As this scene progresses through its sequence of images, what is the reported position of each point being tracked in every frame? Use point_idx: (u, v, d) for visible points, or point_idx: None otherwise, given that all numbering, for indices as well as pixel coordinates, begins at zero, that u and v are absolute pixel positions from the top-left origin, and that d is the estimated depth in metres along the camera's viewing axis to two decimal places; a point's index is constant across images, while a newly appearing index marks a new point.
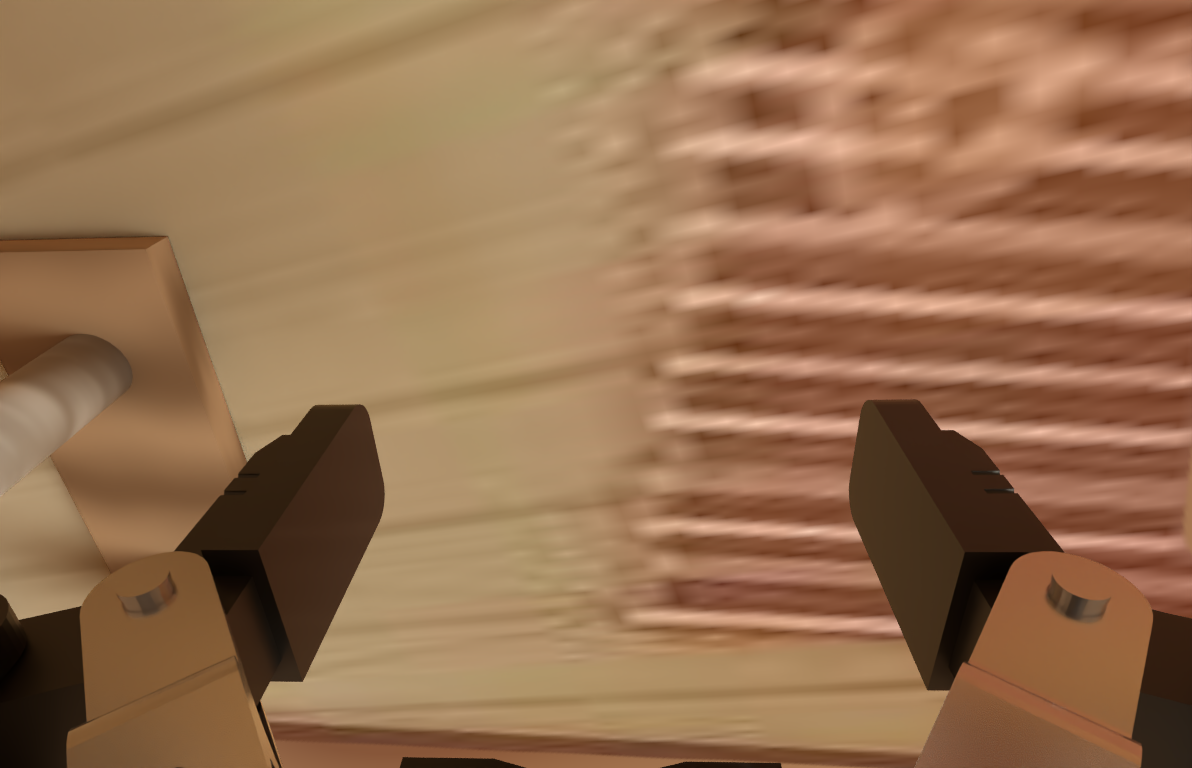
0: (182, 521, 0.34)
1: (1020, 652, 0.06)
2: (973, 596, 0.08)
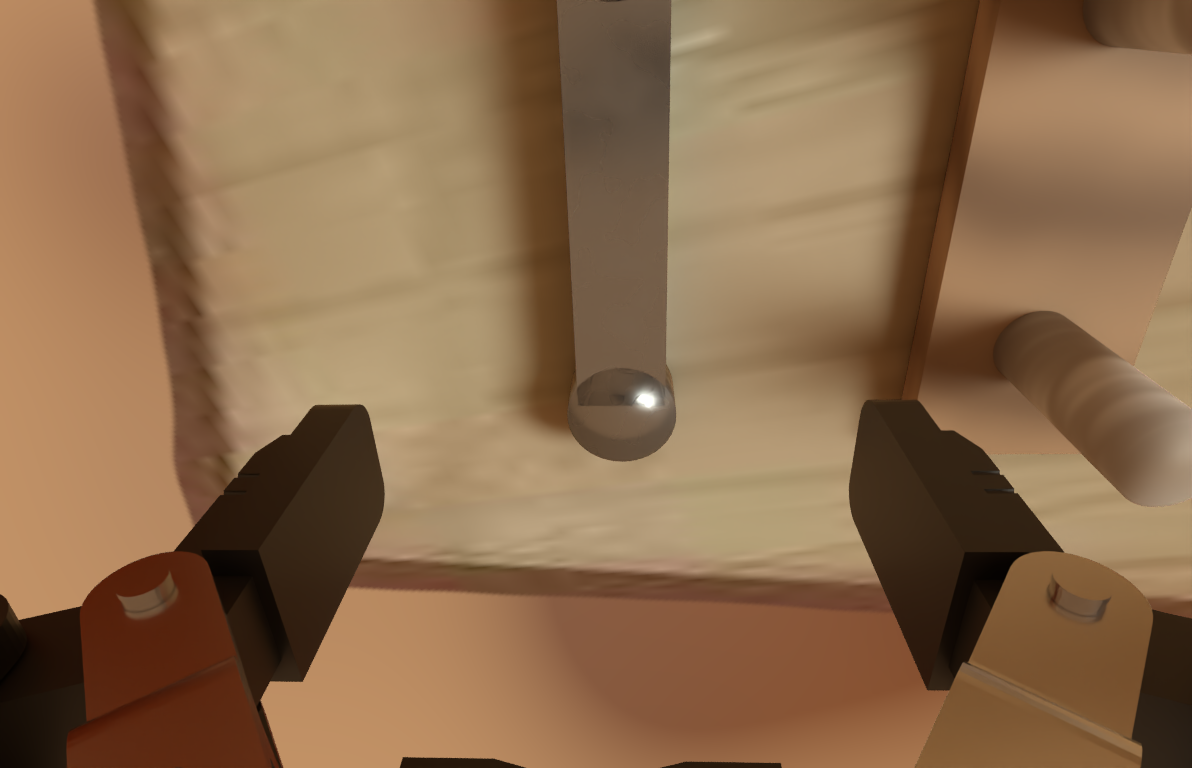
0: (1083, 258, 0.26)
1: (1020, 652, 0.06)
2: (973, 596, 0.08)
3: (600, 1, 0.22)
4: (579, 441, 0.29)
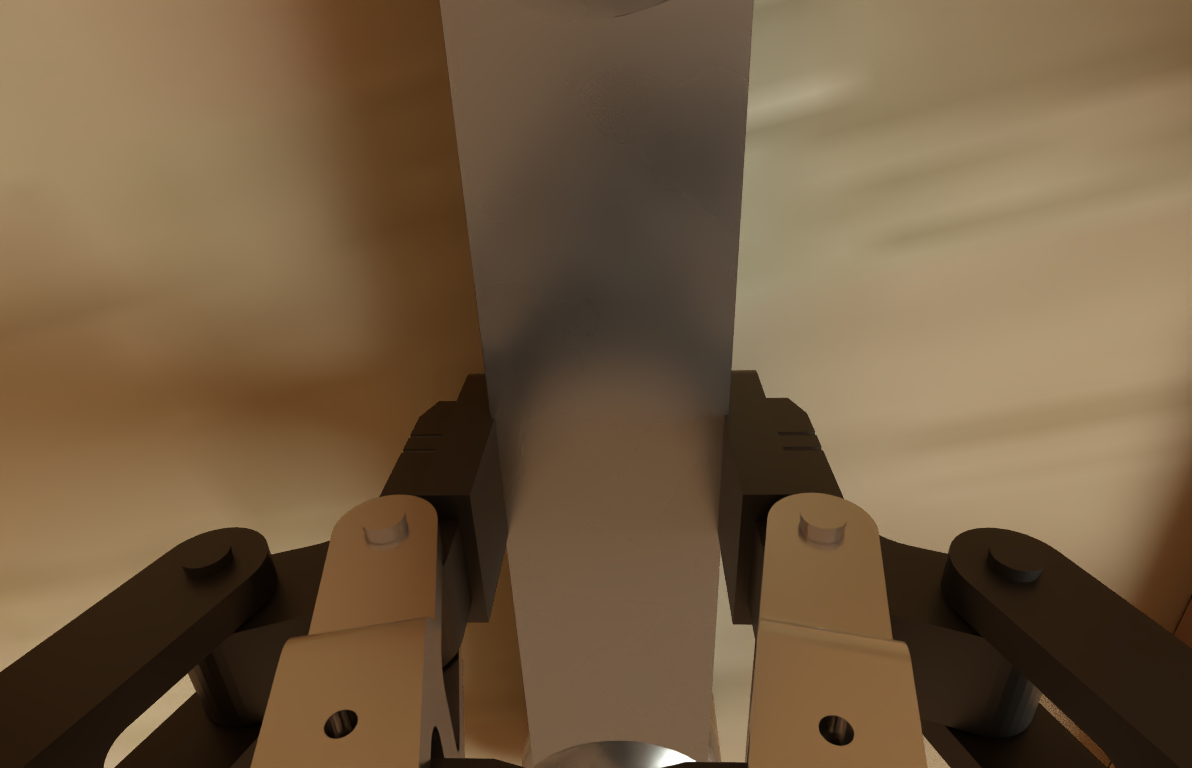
0: None
1: (795, 592, 0.07)
2: (754, 535, 0.09)
3: (559, 18, 0.08)
4: None
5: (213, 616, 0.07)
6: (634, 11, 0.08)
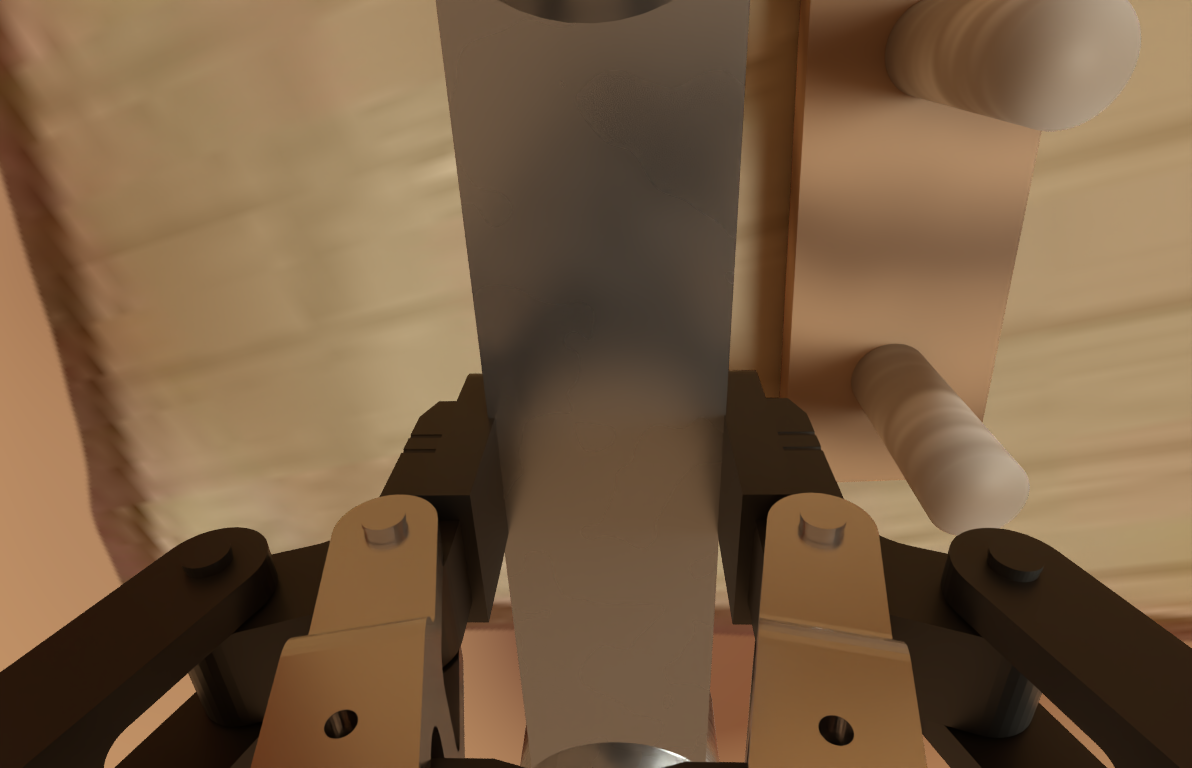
0: (923, 293, 0.27)
1: (795, 592, 0.07)
2: (754, 535, 0.09)
3: (556, 22, 0.08)
4: None
5: (213, 615, 0.07)
6: (630, 15, 0.08)
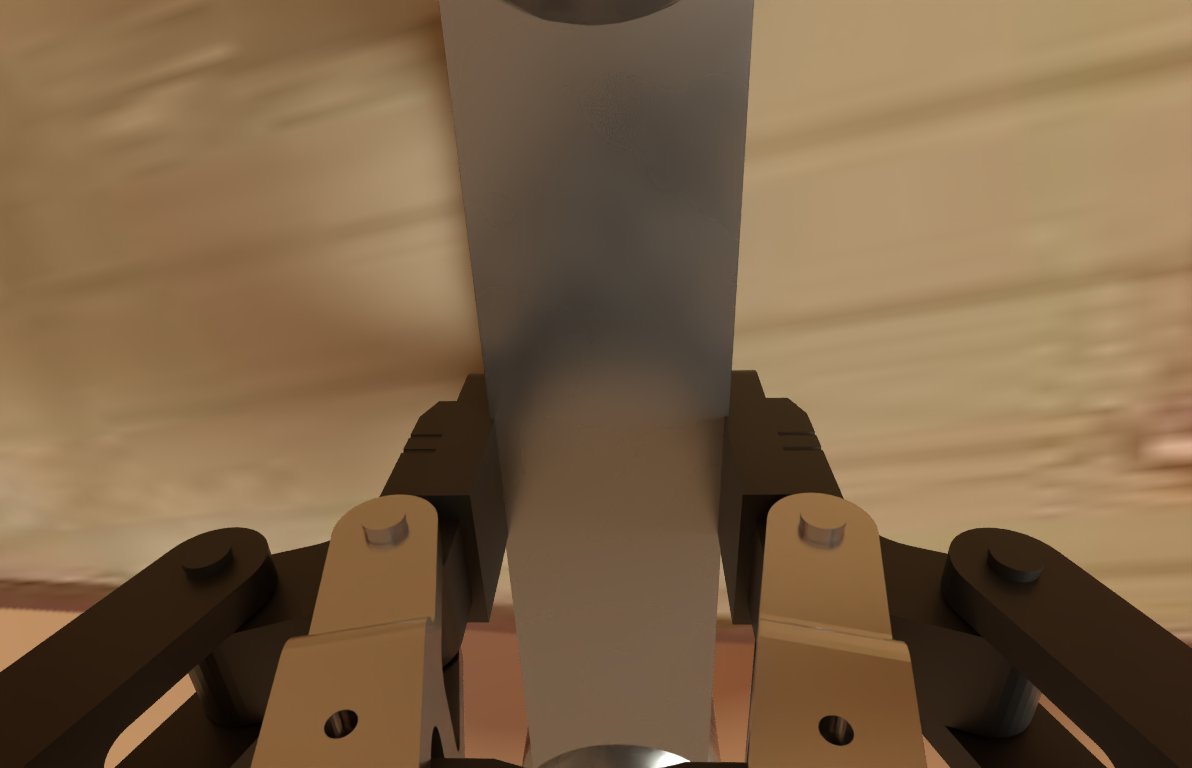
0: None
1: (795, 592, 0.07)
2: (754, 535, 0.09)
3: (559, 24, 0.08)
4: None
5: (213, 616, 0.07)
6: (634, 18, 0.08)
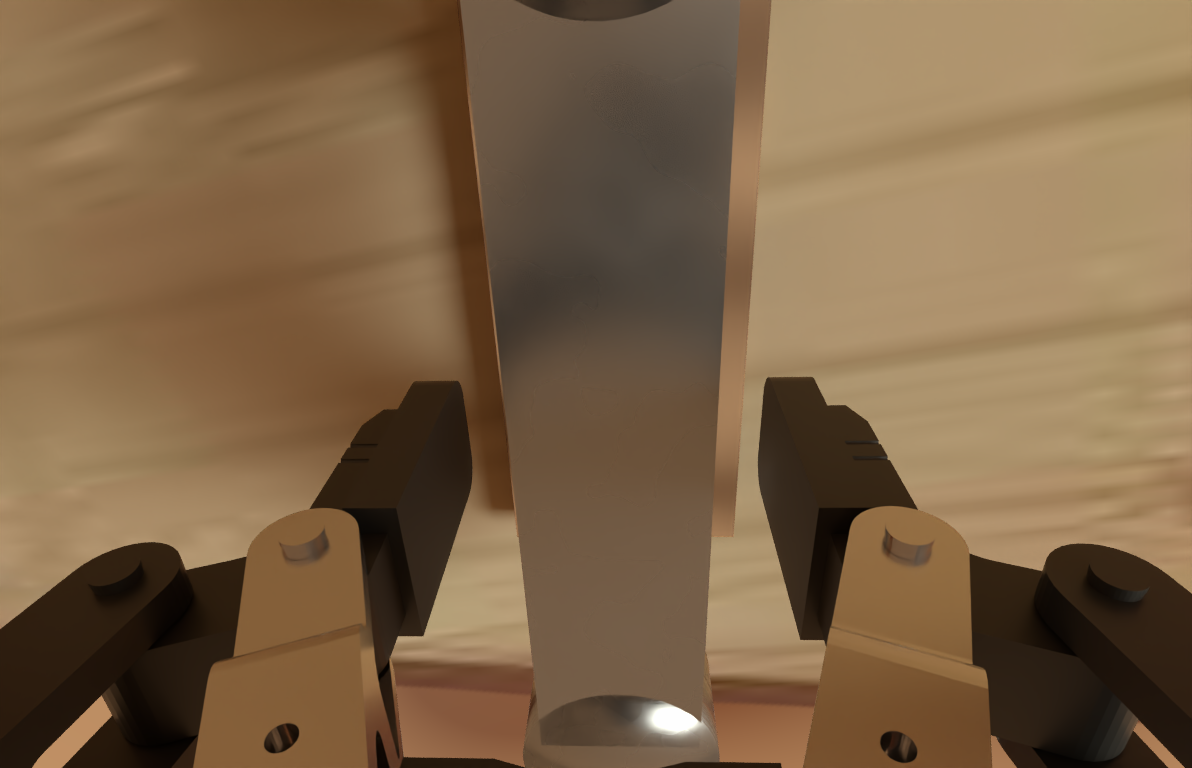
0: None
1: (872, 605, 0.07)
2: (830, 549, 0.09)
3: (567, 20, 0.09)
4: None
5: (116, 634, 0.07)
6: (634, 14, 0.09)
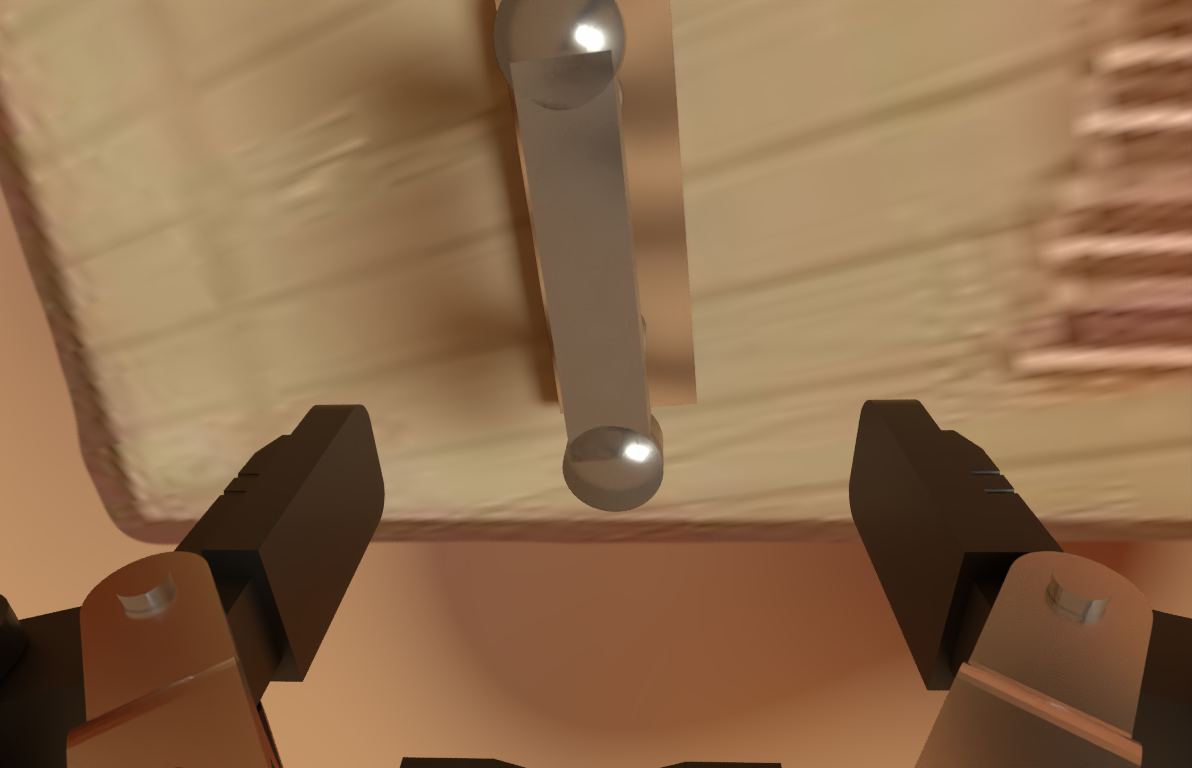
0: None
1: (1020, 652, 0.06)
2: (973, 596, 0.08)
3: (555, 110, 0.25)
4: (576, 494, 0.32)
5: None
6: (578, 106, 0.25)
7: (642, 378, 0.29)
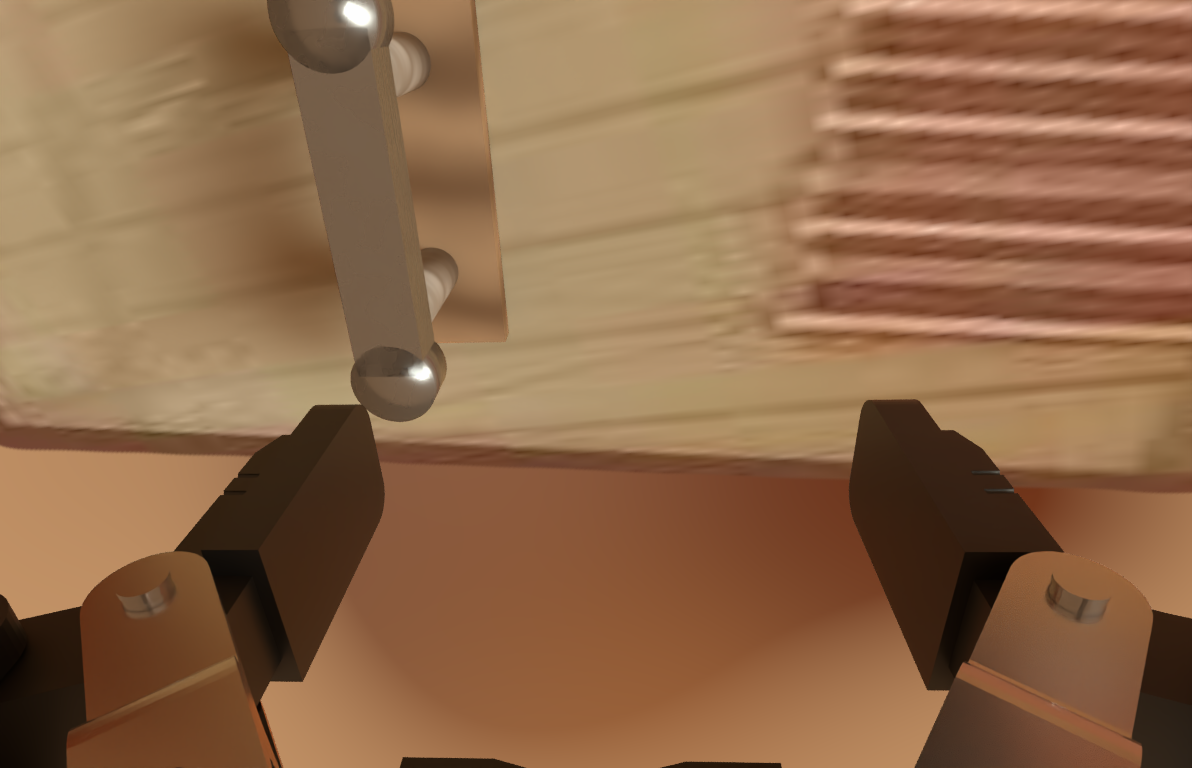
0: (440, 214, 0.43)
1: (1020, 652, 0.06)
2: (973, 596, 0.08)
3: (323, 73, 0.30)
4: (364, 405, 0.37)
5: None
6: (343, 71, 0.30)
7: (412, 307, 0.35)
